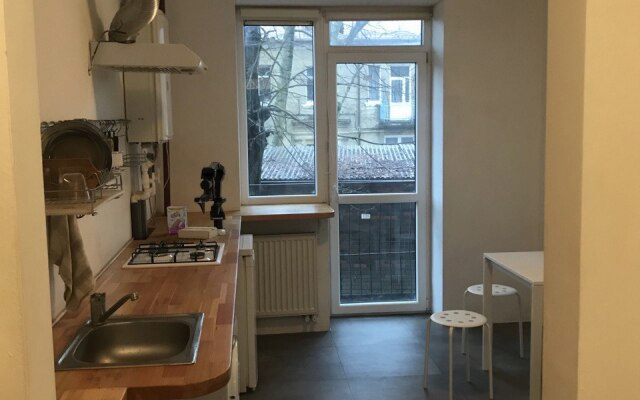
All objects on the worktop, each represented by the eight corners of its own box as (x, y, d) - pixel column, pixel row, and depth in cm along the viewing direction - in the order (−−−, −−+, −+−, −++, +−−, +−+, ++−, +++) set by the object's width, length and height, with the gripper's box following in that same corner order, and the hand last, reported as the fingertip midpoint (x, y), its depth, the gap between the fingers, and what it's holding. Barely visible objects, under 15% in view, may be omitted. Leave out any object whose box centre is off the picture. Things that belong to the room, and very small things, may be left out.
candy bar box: (167, 234, 407) (166, 207, 405) (170, 232, 412) (169, 206, 410) (185, 234, 406) (184, 207, 404) (188, 232, 411) (186, 206, 409)
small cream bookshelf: (187, 234, 404) (187, 226, 403) (218, 235, 398) (217, 227, 397) (177, 238, 392) (177, 230, 392) (209, 238, 387) (208, 230, 386)
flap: (188, 227, 403) (188, 226, 403) (216, 228, 398) (216, 227, 398) (184, 228, 398) (184, 227, 398) (212, 229, 393) (212, 228, 393)
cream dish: (216, 233, 406) (216, 229, 406) (227, 233, 404) (226, 229, 404) (211, 235, 400) (211, 230, 399) (222, 235, 398) (222, 231, 397)
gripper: (188, 189, 394) (190, 215, 396) (217, 189, 388) (218, 216, 390) (197, 187, 404) (199, 212, 407) (225, 187, 399) (227, 213, 401)
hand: (210, 213), depth 401 cm, fingers open, 9 cm apart
